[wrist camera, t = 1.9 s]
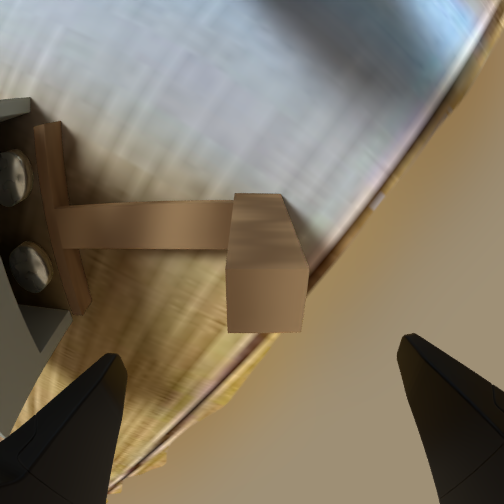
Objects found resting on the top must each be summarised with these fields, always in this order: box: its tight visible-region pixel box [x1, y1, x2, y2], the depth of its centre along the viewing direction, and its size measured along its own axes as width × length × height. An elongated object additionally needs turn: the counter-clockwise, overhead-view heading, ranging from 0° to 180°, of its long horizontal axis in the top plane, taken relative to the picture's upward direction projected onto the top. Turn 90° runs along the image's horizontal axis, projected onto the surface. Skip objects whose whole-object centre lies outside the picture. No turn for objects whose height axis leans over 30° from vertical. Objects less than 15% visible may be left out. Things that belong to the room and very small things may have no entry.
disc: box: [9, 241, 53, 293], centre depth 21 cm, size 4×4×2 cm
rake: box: [34, 121, 310, 333], centre depth 16 cm, size 16×15×10 cm
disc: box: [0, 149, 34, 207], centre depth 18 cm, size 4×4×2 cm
